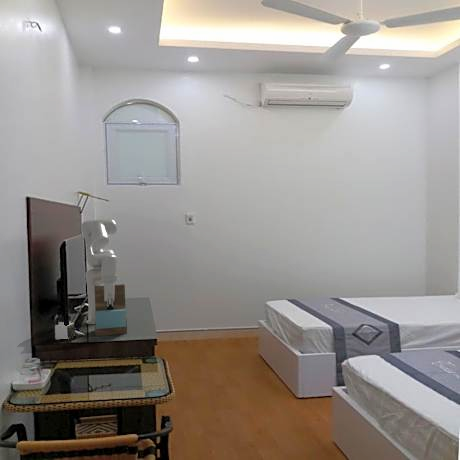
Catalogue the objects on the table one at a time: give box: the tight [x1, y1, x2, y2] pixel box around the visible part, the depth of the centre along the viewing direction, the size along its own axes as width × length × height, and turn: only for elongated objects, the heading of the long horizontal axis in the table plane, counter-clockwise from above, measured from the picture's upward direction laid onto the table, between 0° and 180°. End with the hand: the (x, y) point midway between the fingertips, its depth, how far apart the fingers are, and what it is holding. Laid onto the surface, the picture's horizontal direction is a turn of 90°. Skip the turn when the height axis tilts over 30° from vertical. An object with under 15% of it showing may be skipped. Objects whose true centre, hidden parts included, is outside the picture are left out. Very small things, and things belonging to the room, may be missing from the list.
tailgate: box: [95, 308, 127, 329], centre depth 255 cm, size 1×15×10 cm, turn 104°
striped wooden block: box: [94, 283, 128, 337], centre depth 265 cm, size 15×16×24 cm
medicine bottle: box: [54, 314, 76, 340], centre depth 255 cm, size 7×7×12 cm
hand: (110, 314), depth 256 cm, fingers closed
